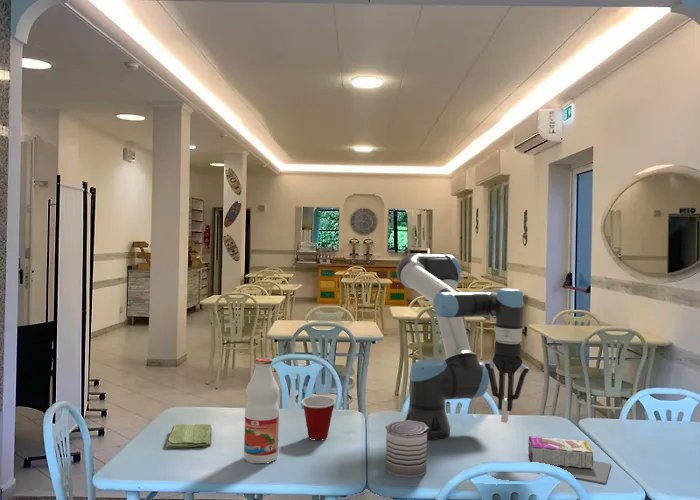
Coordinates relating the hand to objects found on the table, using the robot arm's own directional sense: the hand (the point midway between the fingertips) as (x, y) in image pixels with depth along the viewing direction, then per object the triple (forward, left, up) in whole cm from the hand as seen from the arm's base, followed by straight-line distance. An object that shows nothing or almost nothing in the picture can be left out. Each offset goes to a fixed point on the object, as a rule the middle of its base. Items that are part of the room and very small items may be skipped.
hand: (504, 421), depth 178 cm
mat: (+19, -1, -10) cm, 21 cm away
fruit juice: (-58, -41, -10) cm, 72 cm away
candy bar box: (+7, 0, -7) cm, 10 cm away
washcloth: (-86, -38, -11) cm, 95 cm away
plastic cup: (-54, -17, -10) cm, 57 cm away
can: (-20, -27, -10) cm, 35 cm away
